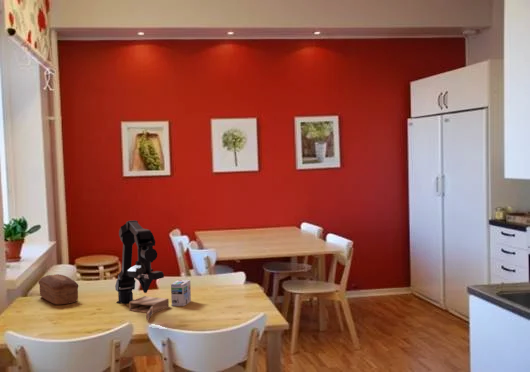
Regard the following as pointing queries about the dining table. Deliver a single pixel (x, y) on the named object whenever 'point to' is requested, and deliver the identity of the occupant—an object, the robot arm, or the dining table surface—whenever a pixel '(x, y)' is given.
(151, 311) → the flap
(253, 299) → the dining table surface
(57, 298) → the bread
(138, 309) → the brown piece
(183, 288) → the light bulb box
